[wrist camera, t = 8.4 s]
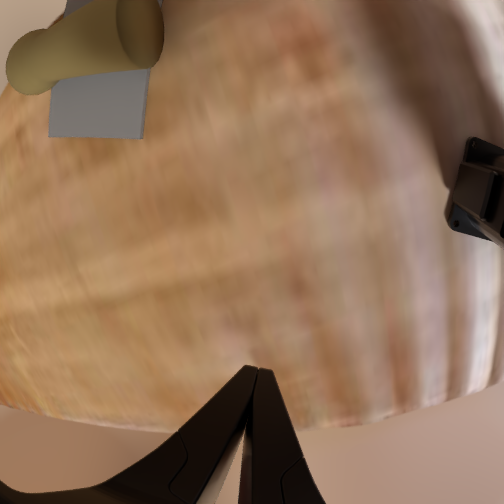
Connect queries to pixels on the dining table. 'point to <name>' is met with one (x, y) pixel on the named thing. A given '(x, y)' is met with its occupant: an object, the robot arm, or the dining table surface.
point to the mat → (99, 101)
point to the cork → (88, 44)
